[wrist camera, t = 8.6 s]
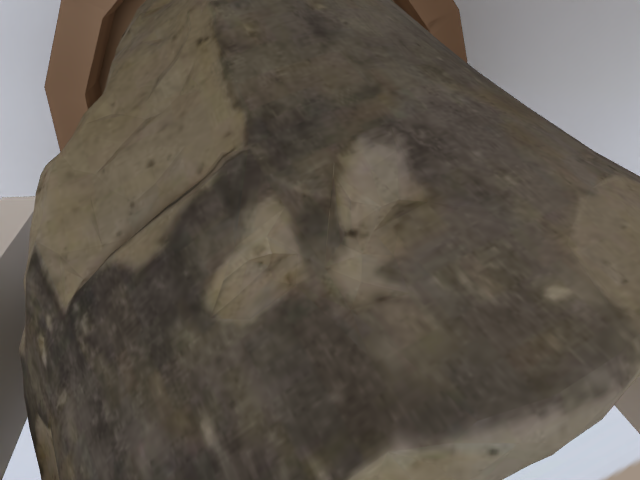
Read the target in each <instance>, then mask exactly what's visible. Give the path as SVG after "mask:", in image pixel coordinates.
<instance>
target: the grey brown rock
mask: <svg viewBox="0 0 640 480" xmlns="http://www.w3.org/2000/svg"><path fill="white" fill-rule="evenodd" d="M23 283H24V291H25V299H26V301H25V328H24V331H23V335H22V339H21V343H20V347H19V353H20V359H21V365H22V371H23V387H24V399H25V405H26V410H27V416H28V422H29V427H30V432H31V436H32V440H33V444H34V448H35V452H36V457H37V461H38V465H39V469H40V474H41V480H502V479H504V478H506V477H508V476H510V475H512V474H514V473H515V472H517V471H519V470H521V469H523V468H525V467H527V466H529V465H531V464H533V463H535V462H537V461H540V460H542V459H544V458H546V457H548V456H551V455H553V454H554V453H555V452H557V451H558V450H559V449H561V448H562V447H563V446H565V445H566V444H567V443H569V442H570V441H571V440H573V439H574V438H576V437H577V436H579V435H580V434H582V433H583V432H584V431H586V430H587V429H589V428H590V427H592V426H593V425H594V424H596V423H597V422H599V421H600V420H602V419H603V417H604V416H605V415H606V414H607V413H608V412H609V410H610V409H611V408H612V407H613V406H614V405H615V403H616V402H617V401H618V400H619V399H620V398H621V396H622V395H623V394H624V393H625V392H626V391H627V389H628V388H629V387H630V386H631V385H632V384H633V383H634V381H635V380H636V379H637V378H638V377H639V376H640V176H638V175H636V174H634V173H633V172H631V171H629V170H627V169H625V168H623V167H622V166H620V165H618V164H616V163H614V162H612V161H611V160H609V159H607V158H605V157H603V156H602V155H600V154H598V153H596V152H594V151H593V150H591V149H590V148H588V147H587V146H585V145H584V144H582V143H581V142H579V141H578V140H576V139H575V138H573V137H572V136H570V135H569V134H567V133H566V132H564V131H563V130H561V129H560V128H558V127H557V126H555V125H554V124H552V123H551V122H549V121H548V120H546V119H545V118H543V117H542V116H540V115H539V114H537V113H536V112H534V111H533V110H531V109H530V108H528V107H527V106H525V105H524V104H522V103H521V102H520V101H518V100H517V99H515V98H514V97H513V96H511V95H510V94H508V93H507V92H505V91H504V90H503V89H501V88H500V87H498V86H497V85H496V84H494V83H493V82H491V81H490V80H489V79H487V78H486V77H484V76H483V75H482V74H480V73H479V72H477V71H476V70H475V69H474V68H473V67H471V66H470V65H469V64H468V63H466V62H465V61H464V60H463V59H461V58H460V57H459V56H458V55H456V54H455V53H454V52H453V51H451V50H450V49H449V48H448V47H446V46H445V45H444V44H443V43H441V42H440V41H439V40H438V39H437V38H435V37H434V36H433V35H432V34H431V33H430V32H428V31H427V30H426V29H425V28H424V27H423V26H421V25H420V24H419V23H418V22H417V21H416V20H414V19H413V18H412V17H411V16H410V15H409V14H407V13H406V12H405V11H404V10H403V9H401V8H400V7H399V6H398V5H397V4H396V3H394V2H393V1H392V0H146V1H145V2H144V3H143V4H142V5H141V6H140V7H139V8H138V9H137V11H136V13H135V15H134V17H133V19H132V21H131V23H130V24H129V26H128V27H127V29H126V31H125V32H124V34H123V35H122V37H121V39H120V42H119V44H118V47H117V49H116V52H115V58H114V59H113V61H112V63H111V67H110V71H109V75H108V79H107V82H106V86H105V89H104V92H103V94H102V96H101V97H100V98H99V99H98V100H97V101H96V102H95V103H94V104H93V105H92V106H91V107H90V108H89V109H88V110H87V111H86V112H85V113H84V114H83V116H82V118H81V120H80V122H79V124H78V126H77V128H76V130H75V132H74V134H73V136H72V137H71V139H70V140H69V141H68V143H67V144H66V146H65V147H64V148H63V150H62V151H61V152H60V154H58V155H57V156H56V157H55V158H54V159H53V160H51V161H50V162H49V163H48V164H47V165H46V167H45V168H44V170H43V172H42V173H41V176H40V180H39V184H38V187H37V191H36V197H35V205H34V212H33V217H32V223H31V229H30V238H29V254H28V261H27V267H26V272H25V276H24V280H23Z"/></svg>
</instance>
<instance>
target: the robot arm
mask: <svg viewBox="0 0 640 480" xmlns="http://www.w3.org/2000/svg"><path fill="white" fill-rule="evenodd" d="M35 197H36V196H31V197H2V198H1V200H0V480H2V478H3V476H4V473H5V471H6V468H7V466H8V463H9V461H10V458H11V456H12V454H13V451H14V449H15V446H16V444H17V441H18V439H19V436H20V434H21V431H22V429H23V426H24V424H25V422H26V419H27V417H28V416H27V410H26V405H25V399H24V387H23V371H22V365H21V359H20V353H19V347H20V343H21V339H22V335H23V331H24V328H25V301H26V299H25V291H24V283H23V280H24V276H25V272H26V267H27V261H28V254H29V238H30V229H31V223H32V217H33V212H34V205H35ZM615 406H616V407H617V408H618V410H619V411H620V412H621V413H622V414H623V415H624V416H625V418H626V419H627V420H628V421H629V422H630V423H631V424H632V426H633V427H634V428H635V429H636V430H637V431H638V432H639V434H640V376H639V377H638V378H637V379H636V380H635V381H634V383H633V384H632V385H631V386H630V387H629V388H628V389H627V391H626V392H625V393H624V394H623V395H622V396H621V398H620V399H619V400H618V401H617V402H616V403H615Z"/></svg>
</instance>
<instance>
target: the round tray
mask: <svg viewBox="0 0 640 480" xmlns="http://www.w3.org/2000/svg"><path fill="white" fill-rule="evenodd" d="M145 1H146V0H61V5H60V10H59V15H58V20H57V25H56V30H55V35H54V41H53V46H52V51H51V56H50V61H49V66H48V72H47V77H46V82H45V86H44V88H45V91H46V95H47V99H48V103H49V107H50V111H51V115H52V119H53V123H54V127H55V131H56V135H57V139H58V144H59V148H60V152H61V151H62V150H63V148H64V147H65V146H66V144H67V143H68V141H69V140H70V139H71V137H72V136H73V134H74V132H75V130H76V128H77V126H78V124H79V122H80V120H81V118H82V116H83V114H84V113H85V112H86V111H87V110H88V109H89V108H90V107H91V106H92V105H93V104H94V103H95V102H96V101H97V100H98V99H99V98H100V97H101V96H102V94H103V92H104V89H105V86H106V82H107V79H108V75H109V71H110V67H111V63H112V61H113V59H114V58H115V52H116V49H117V47H118V44H119V42H120V39H121V37H122V35H123V34H124V32H125V31H126V29H127V27H128V26H129V24H130V23H131V21H132V19H133V17H134V15H135V13H136V11H137V9H138V8H139V7H140V6H141V5H142V4H143V3H144V2H145ZM392 1H393V2H394V3H396V4H397V5H398V6H399V7H400V8H401V9H403V10H404V11H405V12H406V13H407V14H409V15H410V16H411V17H412V18H413V19H414V20H416V21H417V22H418V23H419V24H420V25H421V26H423V27H424V28H425V29H426V30H427V31H428V32H430V33H431V34H432V35H433V36H434V37H435V38H437V39H438V40H439V41H440V42H441V43H443V44H444V45H445V46H446V47H448V48H449V49H450V50H451V51H453V52H454V53H455V54H456V55H458V56H459V57H460V58H461V59H463V60H464V61H465V62H466V63H467V57H466V51H465V45H464V38H463V32H462V26H461V19H460V13H459V9H458V7H457V6H456V4H455V3H454V1H453V0H392Z"/></svg>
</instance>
